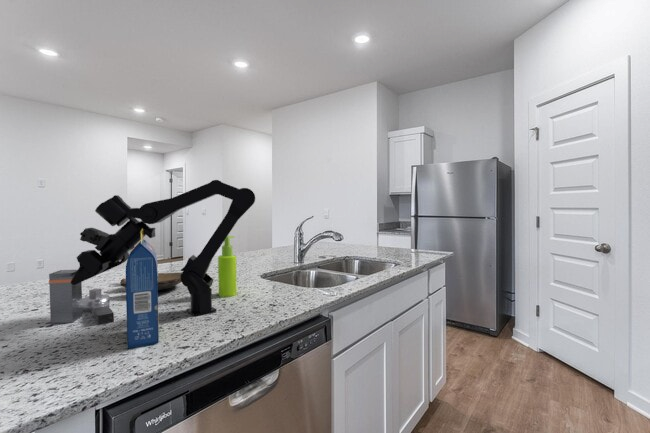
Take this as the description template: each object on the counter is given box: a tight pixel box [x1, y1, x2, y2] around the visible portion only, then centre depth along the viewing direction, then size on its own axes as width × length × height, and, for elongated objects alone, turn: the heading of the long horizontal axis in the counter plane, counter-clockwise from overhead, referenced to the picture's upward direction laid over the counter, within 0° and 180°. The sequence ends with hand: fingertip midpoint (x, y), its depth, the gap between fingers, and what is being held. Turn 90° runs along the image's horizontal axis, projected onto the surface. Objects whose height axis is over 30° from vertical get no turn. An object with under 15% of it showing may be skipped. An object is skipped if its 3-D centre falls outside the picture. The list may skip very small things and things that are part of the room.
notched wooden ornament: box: [119, 272, 182, 292], centre depth 122 cm, size 22×30×8 cm
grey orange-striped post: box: [48, 269, 83, 325], centre depth 88 cm, size 5×5×13 cm
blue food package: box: [125, 228, 160, 349], centre depth 77 cm, size 6×12×25 cm, turn 27°
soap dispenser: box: [217, 235, 238, 298], centre depth 113 cm, size 6×7×20 cm
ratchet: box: [82, 288, 115, 326], centre depth 94 cm, size 21×7×6 cm, turn 42°
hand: (81, 279), depth 89 cm, fingers open, 9 cm apart
